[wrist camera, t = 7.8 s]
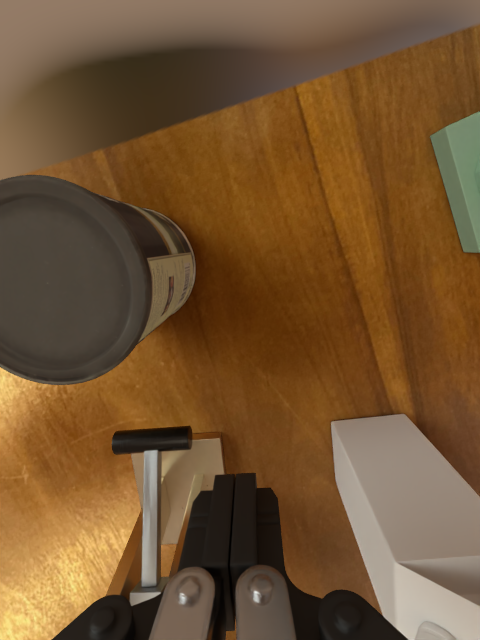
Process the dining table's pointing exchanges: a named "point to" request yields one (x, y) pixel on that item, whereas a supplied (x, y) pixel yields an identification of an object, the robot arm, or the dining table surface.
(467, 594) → the milk carton
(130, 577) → the lever bracket
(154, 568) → the lever handle
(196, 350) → the dining table surface
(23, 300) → the coffee can
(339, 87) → the dining table surface
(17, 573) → the dining table surface
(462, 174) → the button block
